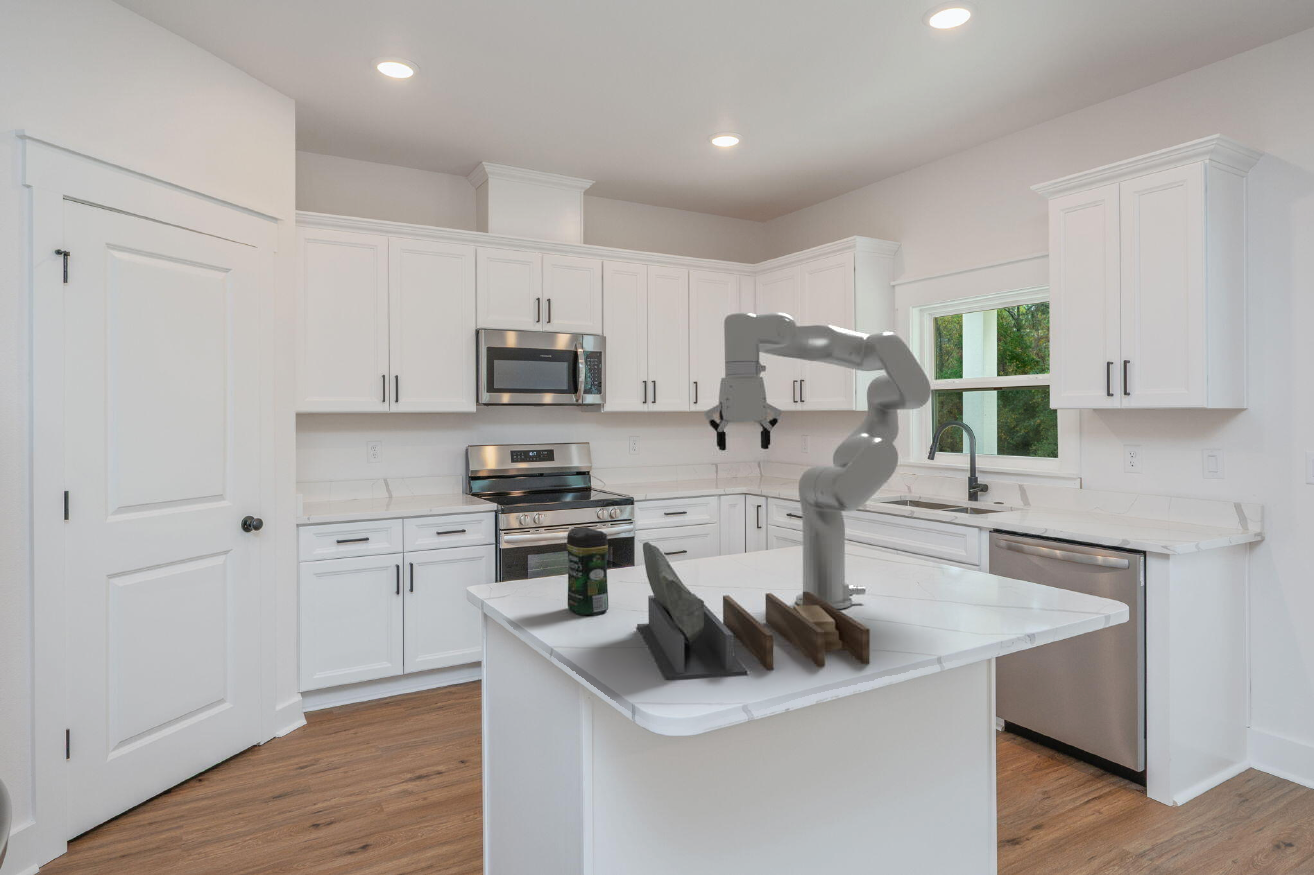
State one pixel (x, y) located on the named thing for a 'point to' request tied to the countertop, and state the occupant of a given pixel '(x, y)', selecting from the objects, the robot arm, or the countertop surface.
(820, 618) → the offcut
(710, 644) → the slab stand
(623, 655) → the countertop surface
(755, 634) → the walnut rack
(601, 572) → the coffee jar
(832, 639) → the offcut
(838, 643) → the offcut
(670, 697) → the countertop surface
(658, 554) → the rock
